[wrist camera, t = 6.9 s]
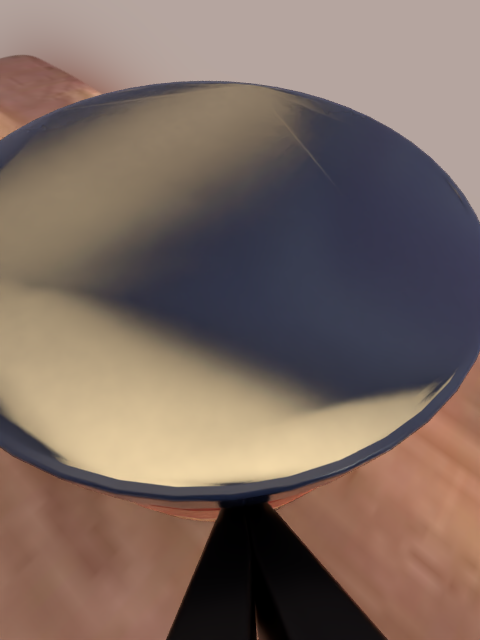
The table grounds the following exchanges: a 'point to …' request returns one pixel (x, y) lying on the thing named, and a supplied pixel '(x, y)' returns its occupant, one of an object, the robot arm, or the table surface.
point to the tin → (225, 294)
